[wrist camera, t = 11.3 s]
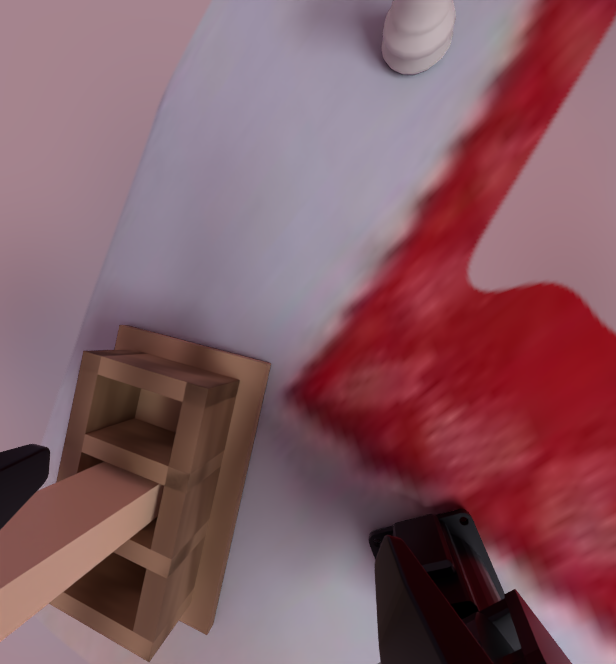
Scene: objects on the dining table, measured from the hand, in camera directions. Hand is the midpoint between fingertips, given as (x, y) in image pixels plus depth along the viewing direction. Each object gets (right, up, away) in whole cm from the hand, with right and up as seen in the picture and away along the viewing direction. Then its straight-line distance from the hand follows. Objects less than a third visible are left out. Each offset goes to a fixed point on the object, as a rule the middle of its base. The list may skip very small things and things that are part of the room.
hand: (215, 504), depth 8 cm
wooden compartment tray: (-9, -6, +15) cm, 19 cm away
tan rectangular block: (-9, -6, +15) cm, 18 cm away
